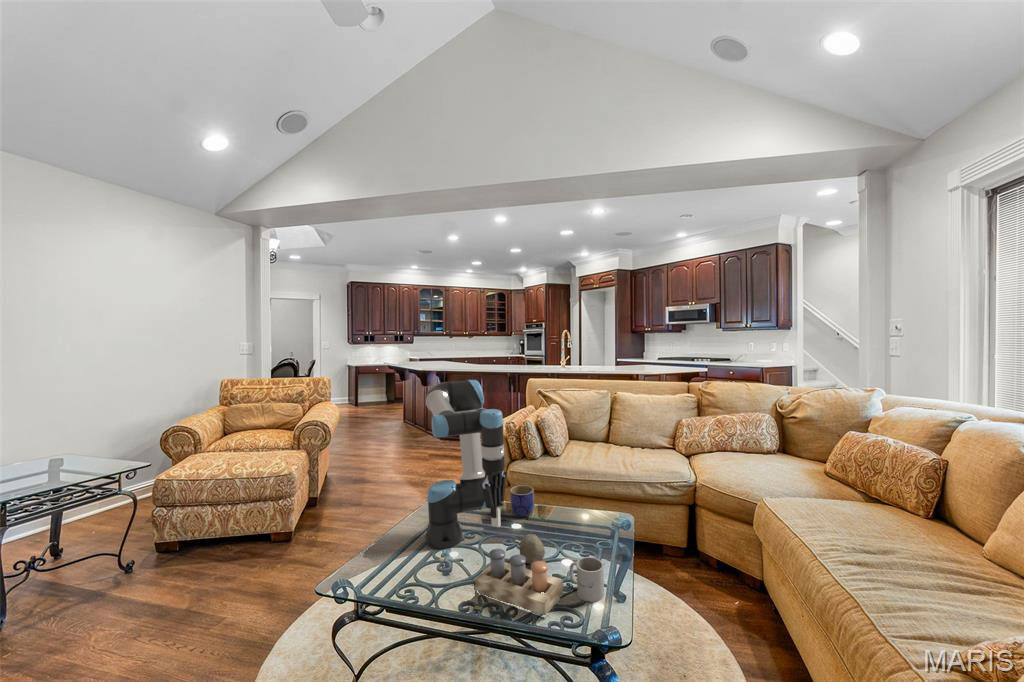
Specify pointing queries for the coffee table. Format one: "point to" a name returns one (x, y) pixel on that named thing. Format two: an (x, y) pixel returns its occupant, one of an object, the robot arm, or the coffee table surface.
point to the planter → (522, 500)
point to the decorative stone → (532, 548)
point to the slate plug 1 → (497, 562)
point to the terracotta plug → (539, 575)
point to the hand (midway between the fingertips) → (496, 525)
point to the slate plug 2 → (518, 569)
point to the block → (519, 590)
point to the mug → (589, 578)
